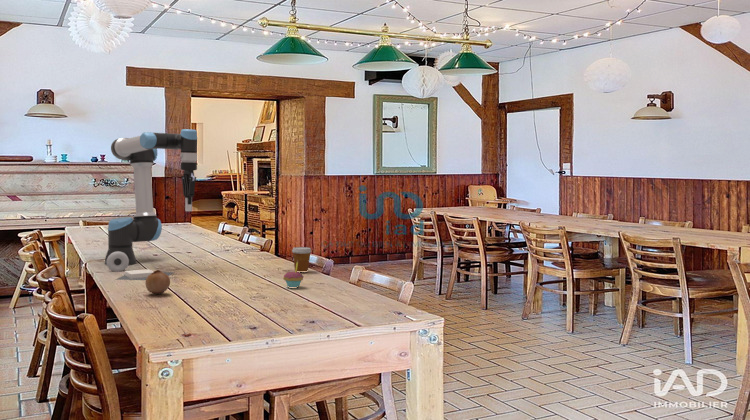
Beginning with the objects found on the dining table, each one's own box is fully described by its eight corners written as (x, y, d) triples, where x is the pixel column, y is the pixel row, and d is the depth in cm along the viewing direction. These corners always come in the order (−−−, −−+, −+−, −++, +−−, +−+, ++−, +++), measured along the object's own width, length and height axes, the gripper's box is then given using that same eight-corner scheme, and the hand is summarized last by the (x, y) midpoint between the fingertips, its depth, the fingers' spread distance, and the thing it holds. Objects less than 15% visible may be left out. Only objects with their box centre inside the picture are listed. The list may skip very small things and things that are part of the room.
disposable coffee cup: (288, 272, 338) (288, 248, 337) (297, 270, 346) (297, 246, 346) (305, 274, 334) (305, 249, 333) (314, 271, 343) (314, 247, 342)
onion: (156, 297, 270) (156, 272, 269) (140, 295, 275) (140, 270, 274) (175, 294, 278) (175, 269, 277) (159, 291, 283) (159, 267, 282)
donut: (128, 271, 331) (128, 250, 330) (129, 272, 328) (129, 251, 327) (106, 272, 327) (106, 251, 326) (106, 273, 324) (106, 252, 323)
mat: (131, 272, 327) (131, 271, 326) (174, 273, 327) (174, 272, 327) (115, 280, 305) (115, 279, 305) (161, 281, 305) (161, 280, 305)
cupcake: (306, 287, 301) (306, 259, 300) (297, 290, 293) (298, 262, 292) (288, 285, 304) (288, 258, 303) (279, 288, 296) (280, 260, 295)
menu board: (148, 269, 322) (124, 270, 315) (155, 272, 314) (131, 274, 307) (148, 273, 322) (124, 275, 316) (155, 276, 314) (131, 278, 308)
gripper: (176, 161, 332) (176, 210, 334) (186, 161, 322) (186, 212, 324) (191, 161, 337) (191, 210, 339) (201, 162, 326) (201, 212, 328)
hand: (188, 211), depth 331 cm, fingers closed
